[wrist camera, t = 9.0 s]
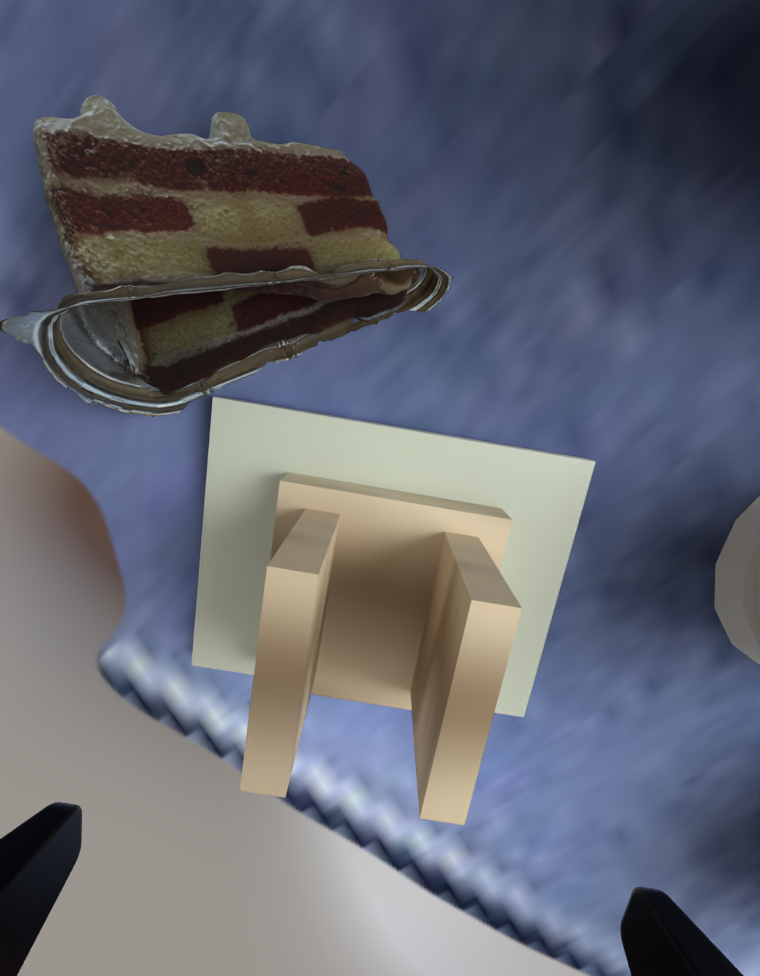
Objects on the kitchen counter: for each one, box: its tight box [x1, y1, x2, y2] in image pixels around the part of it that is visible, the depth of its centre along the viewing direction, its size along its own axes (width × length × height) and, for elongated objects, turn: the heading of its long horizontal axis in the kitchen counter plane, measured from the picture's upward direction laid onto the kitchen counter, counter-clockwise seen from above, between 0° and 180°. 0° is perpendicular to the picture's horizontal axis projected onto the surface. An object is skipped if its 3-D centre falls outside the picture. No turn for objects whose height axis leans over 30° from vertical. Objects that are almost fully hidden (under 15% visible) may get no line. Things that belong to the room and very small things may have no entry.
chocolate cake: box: [0, 95, 453, 417], centre depth 14 cm, size 10×7×12 cm
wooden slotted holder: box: [240, 472, 522, 825], centre depth 14 cm, size 8×8×6 cm
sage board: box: [192, 396, 595, 717], centre depth 17 cm, size 14×11×1 cm
